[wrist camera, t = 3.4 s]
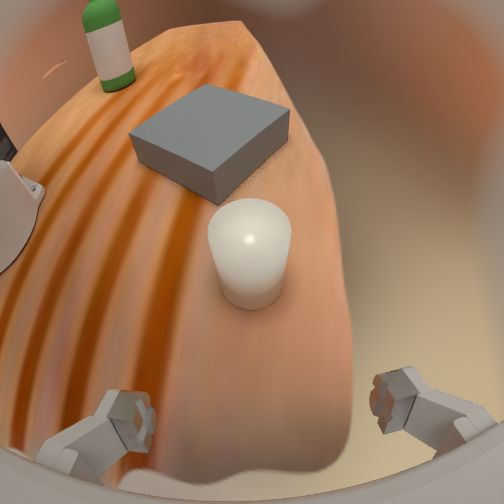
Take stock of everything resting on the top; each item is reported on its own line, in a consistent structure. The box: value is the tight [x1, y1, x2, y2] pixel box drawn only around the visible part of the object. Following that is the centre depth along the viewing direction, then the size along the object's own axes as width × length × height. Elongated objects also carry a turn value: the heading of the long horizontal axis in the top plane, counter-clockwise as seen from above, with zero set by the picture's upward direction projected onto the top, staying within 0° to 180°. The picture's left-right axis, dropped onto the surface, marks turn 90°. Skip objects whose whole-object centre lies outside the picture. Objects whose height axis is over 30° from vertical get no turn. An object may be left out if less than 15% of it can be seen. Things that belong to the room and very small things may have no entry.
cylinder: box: [208, 198, 291, 310], centre depth 22 cm, size 6×6×8 cm
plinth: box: [129, 84, 290, 206], centre depth 33 cm, size 14×14×5 cm
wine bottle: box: [82, 0, 135, 92], centre depth 37 cm, size 8×8×30 cm
